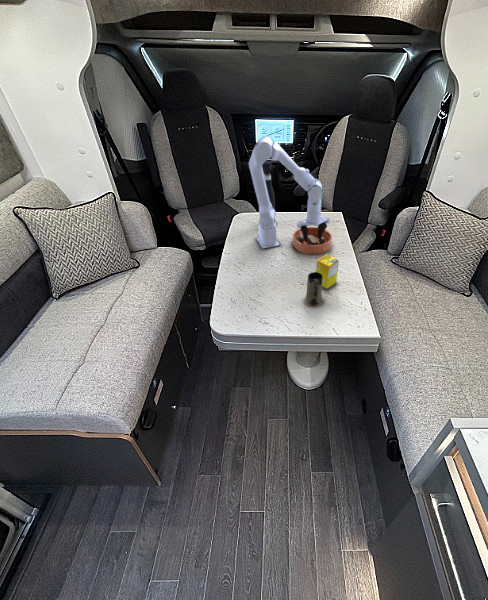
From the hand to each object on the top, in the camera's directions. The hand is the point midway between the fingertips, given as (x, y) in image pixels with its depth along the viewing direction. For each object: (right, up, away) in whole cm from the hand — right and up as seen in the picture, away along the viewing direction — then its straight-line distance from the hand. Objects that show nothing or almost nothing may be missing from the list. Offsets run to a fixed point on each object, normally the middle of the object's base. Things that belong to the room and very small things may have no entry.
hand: (312, 239), depth 152 cm
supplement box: (+4, -21, -21) cm, 30 cm away
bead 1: (-5, 0, 0) cm, 5 cm away
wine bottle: (-20, +11, +17) cm, 29 cm away
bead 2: (+4, -1, +2) cm, 4 cm away
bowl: (0, -2, +2) cm, 3 cm away
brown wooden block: (0, -2, +1) cm, 2 cm away
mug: (-2, -28, -30) cm, 41 cm away
